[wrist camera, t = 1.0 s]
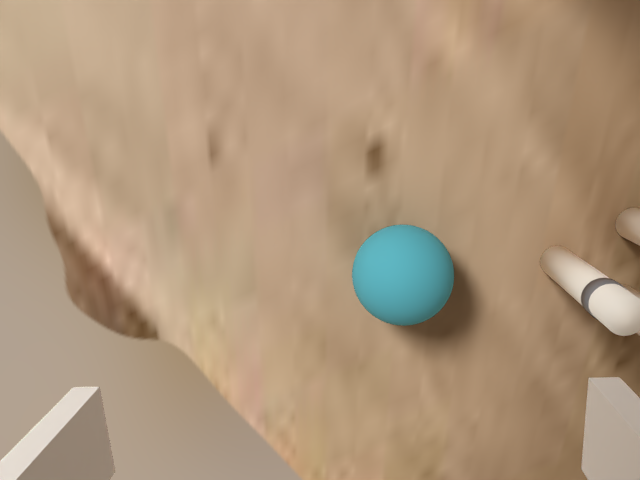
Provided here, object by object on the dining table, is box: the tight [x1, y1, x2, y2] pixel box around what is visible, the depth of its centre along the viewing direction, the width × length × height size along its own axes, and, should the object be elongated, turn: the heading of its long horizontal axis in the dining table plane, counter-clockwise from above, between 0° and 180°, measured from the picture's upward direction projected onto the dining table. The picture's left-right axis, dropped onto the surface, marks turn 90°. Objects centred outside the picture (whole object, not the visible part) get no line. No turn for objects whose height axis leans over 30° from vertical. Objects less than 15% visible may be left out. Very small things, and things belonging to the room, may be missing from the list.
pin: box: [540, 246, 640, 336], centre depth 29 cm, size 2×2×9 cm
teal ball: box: [352, 225, 454, 326], centre depth 31 cm, size 6×6×6 cm
